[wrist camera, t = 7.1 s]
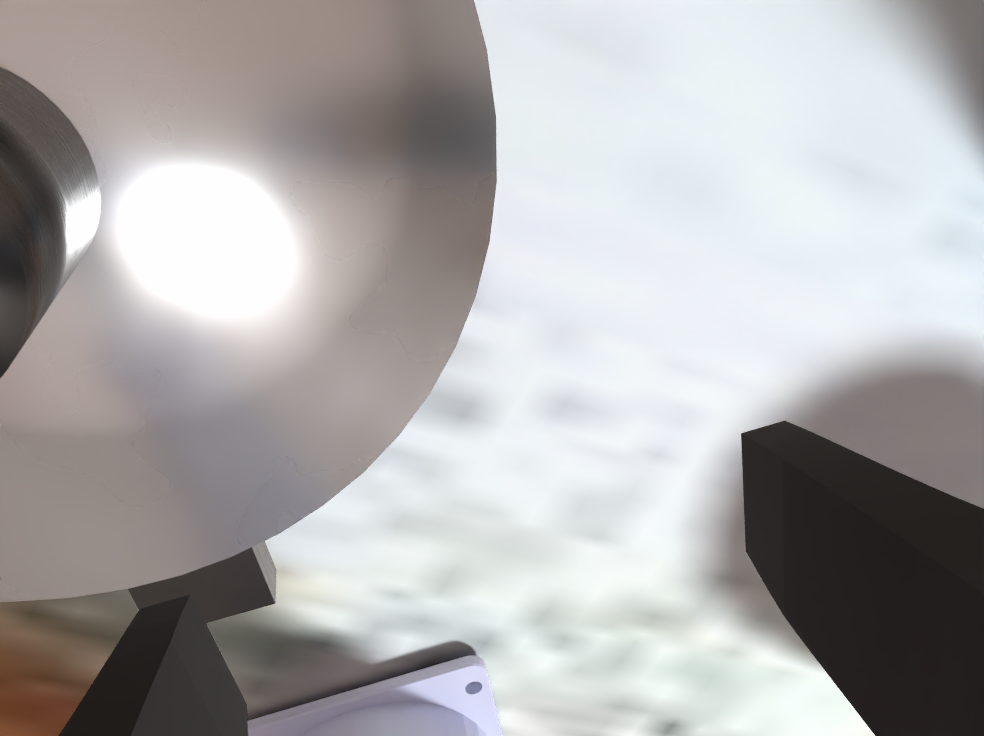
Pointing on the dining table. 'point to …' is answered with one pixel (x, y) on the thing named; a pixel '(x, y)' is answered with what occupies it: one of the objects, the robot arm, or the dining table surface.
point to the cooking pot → (219, 585)
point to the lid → (222, 266)
